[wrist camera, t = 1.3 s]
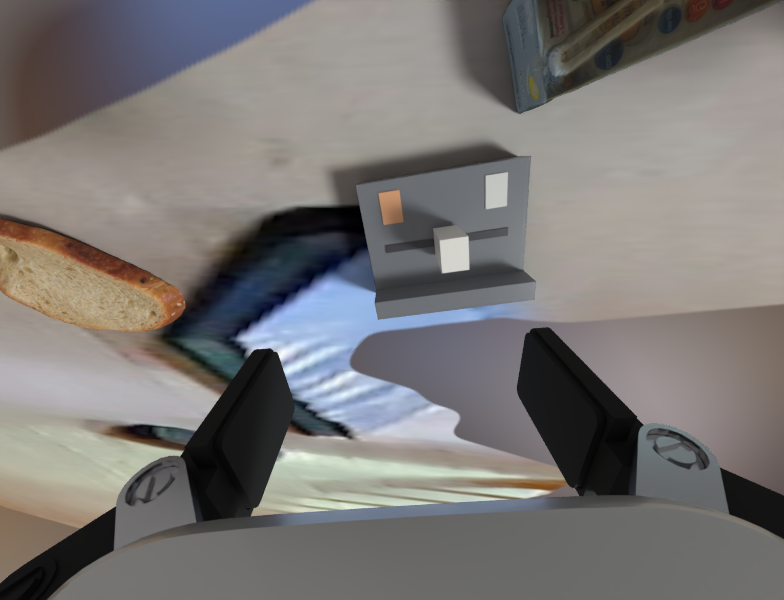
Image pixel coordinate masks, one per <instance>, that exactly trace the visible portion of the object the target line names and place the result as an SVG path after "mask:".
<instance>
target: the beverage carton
mask: <svg viewBox="0 0 784 600" xmlns="http://www.w3.org/2000/svg"><path fill="white" fill-rule="evenodd" d="M780 1H783V0H511V1H510V3H509V4H508V7H507V10H506V11H505V13H504V15H503V17H502V23H503V27H504V32H505V37H506V43H507V48H508V54H509V61H510V67H511V73H512V80H513V87H514V93H515V101H516V106H517V111H518V113H519V114H521V113H523V112H525V111H528V110H532V109H534V108H536V107H539V106H541V105H543V104H545V103H548V102H549V101H551V100H553V99H554V98H556V97H558V96H561V95H563V94H566V93H569V92H572V91H575V90H577V89H579V88H581V87H583V86H585V85H588V84H590V83H592V82H594V81H597V80H599V79H601V78H604V77H606V76H608V75H611V74H613V73H616V72H618V71H620V70H623V69H625V68H628V67H630V66H632V65H635V64H637V63H639V62H642V61H644V60H647V59H649V58H652V57H654V56H657V55H659V54H662V53H664V52H666V51H669V50H671V49H673V48H676V47H678V46H680V45H682V44H684V43H687V42H689V41H691V40H693V39H695V38H698V37H700V36H702V35H705V34H707V33H710V32H712V31H714V30H717V29H719V28H721V27H724V26H726V25H728V24H731V23H733V22H736V21H738V20H740V19H742V18H744V17H747V16H749V15H751V14H754V13H756V12H758V11H761V10H763V9H765V8H767V7H770V6H772V5H774V4H776V3H778V2H780Z"/></svg>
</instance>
